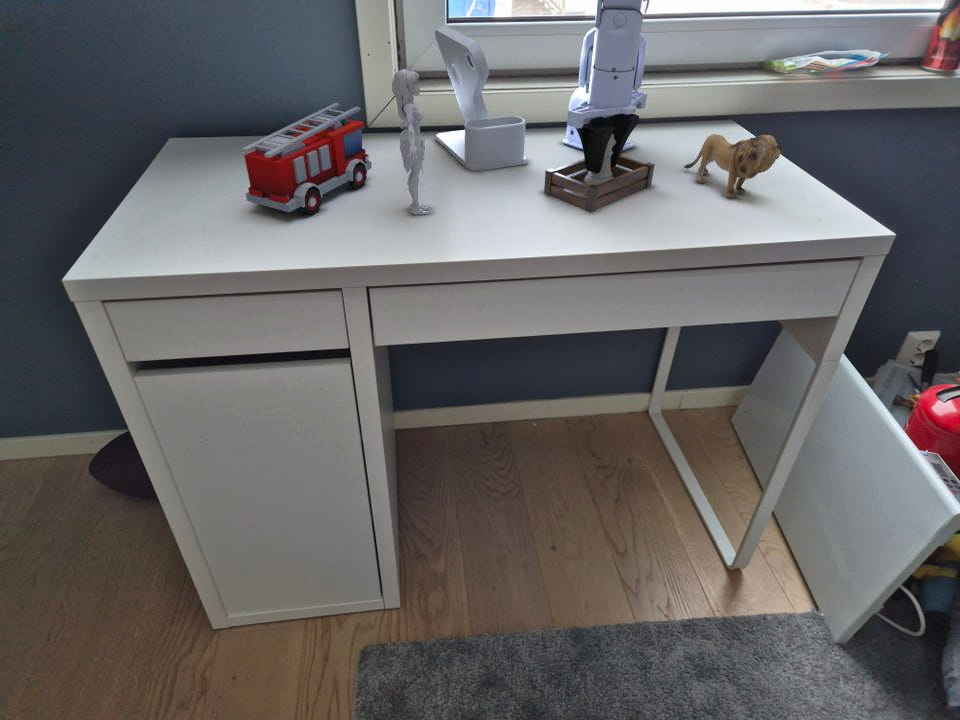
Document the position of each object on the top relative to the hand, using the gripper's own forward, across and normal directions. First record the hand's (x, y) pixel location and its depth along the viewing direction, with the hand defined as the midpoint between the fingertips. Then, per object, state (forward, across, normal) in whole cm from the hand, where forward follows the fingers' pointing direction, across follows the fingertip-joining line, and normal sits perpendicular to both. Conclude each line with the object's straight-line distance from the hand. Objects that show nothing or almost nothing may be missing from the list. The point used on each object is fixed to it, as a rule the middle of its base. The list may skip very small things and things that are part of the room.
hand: (600, 168), depth 93 cm
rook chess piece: (+3, 0, 0) cm, 3 cm away
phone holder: (+3, -2, +24) cm, 24 cm away
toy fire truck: (+3, -32, +26) cm, 41 cm away
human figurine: (+3, -25, +12) cm, 28 cm away
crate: (+3, 0, 0) cm, 3 cm away
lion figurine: (+3, +15, -12) cm, 19 cm away
